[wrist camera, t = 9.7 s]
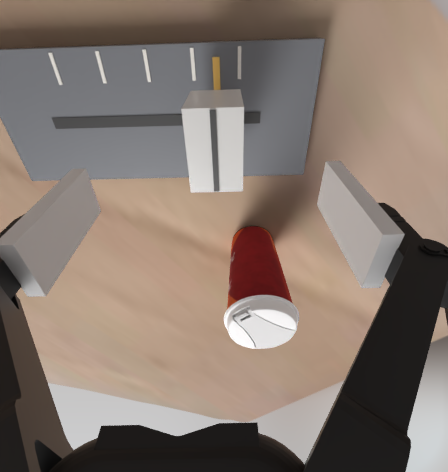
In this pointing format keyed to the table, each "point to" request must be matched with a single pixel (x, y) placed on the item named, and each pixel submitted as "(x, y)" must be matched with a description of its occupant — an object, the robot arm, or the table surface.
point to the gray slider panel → (154, 104)
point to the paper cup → (258, 293)
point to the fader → (214, 140)
